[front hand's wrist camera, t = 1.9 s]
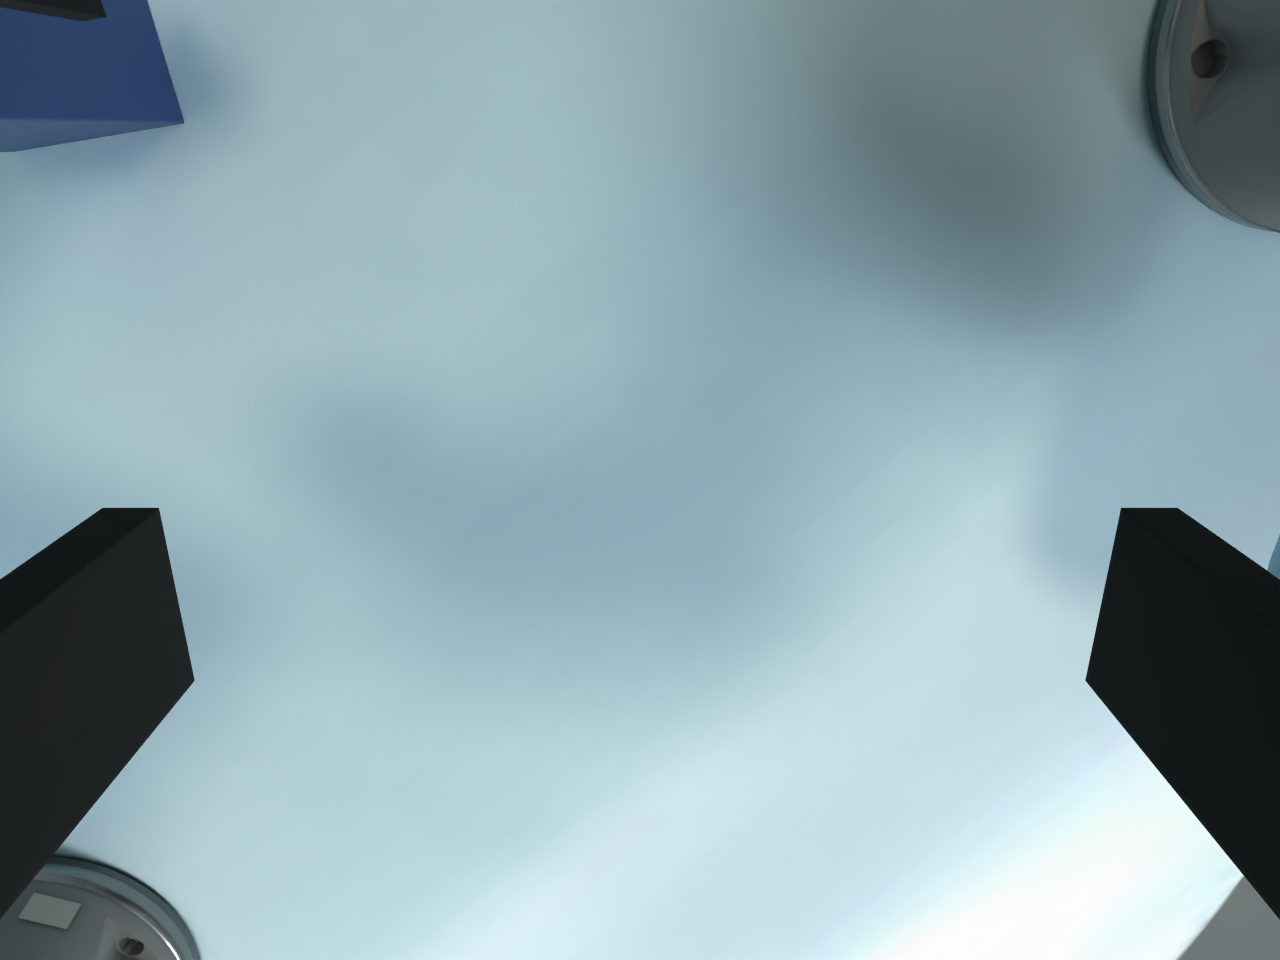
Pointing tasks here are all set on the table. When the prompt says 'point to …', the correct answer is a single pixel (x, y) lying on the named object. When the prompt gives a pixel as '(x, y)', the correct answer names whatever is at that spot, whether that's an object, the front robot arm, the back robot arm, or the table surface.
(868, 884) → the table surface
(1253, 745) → the front robot arm
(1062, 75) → the table surface
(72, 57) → the box
